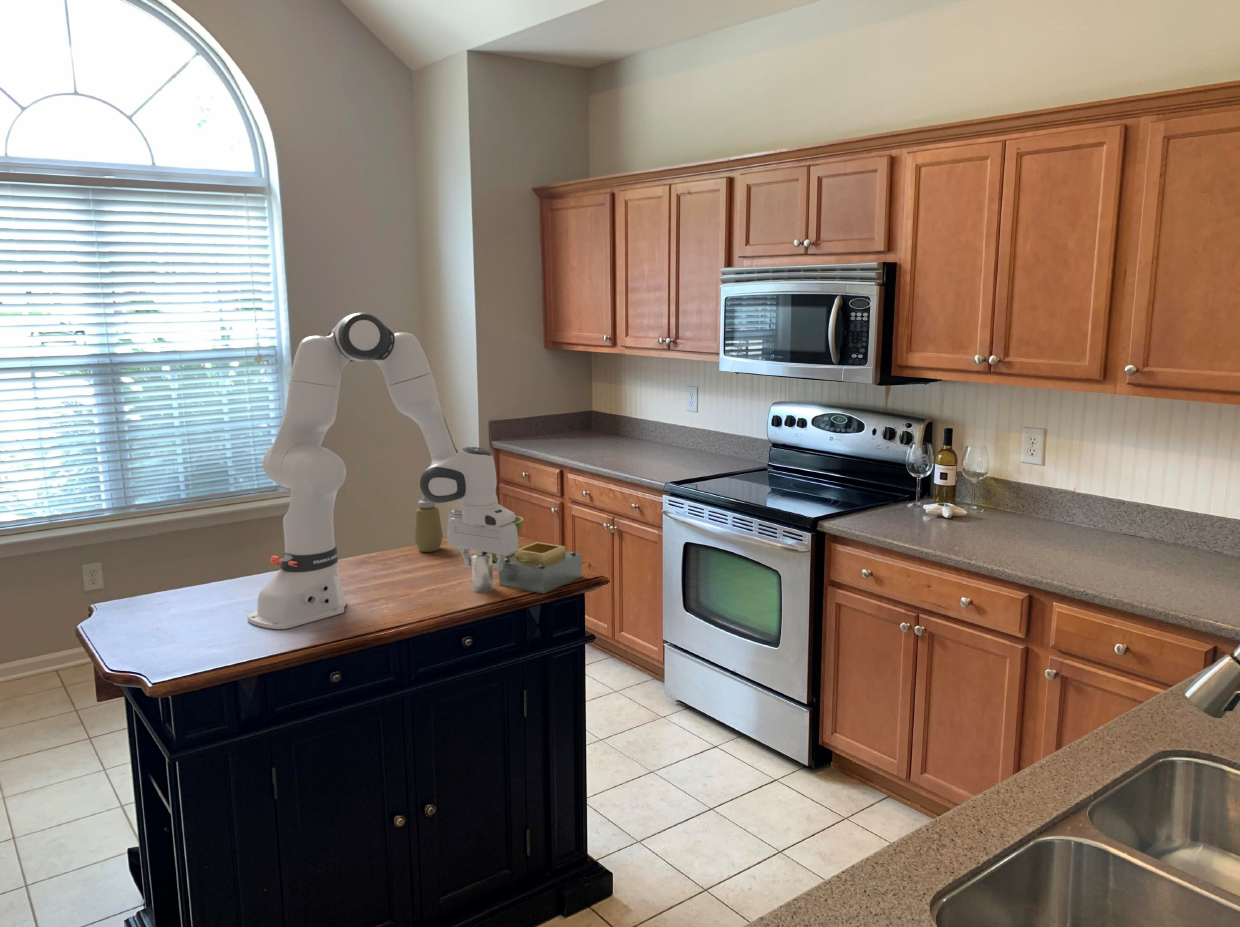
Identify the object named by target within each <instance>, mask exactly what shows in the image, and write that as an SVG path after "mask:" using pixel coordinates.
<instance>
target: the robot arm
mask: <svg viewBox="0 0 1240 927" xmlns="http://www.w3.org/2000/svg"><path fill="white" fill-rule="evenodd" d="M293 358H294V359H293V362H292V367H291V372H290V377H289V383H288V390H287V391H288V392H287V398H286V405H285V410H284V416H283V419H282V422H281V424H280V427H279V429H278V432H277V435H276V437H275V439H274V441H273V443H272V445H271V446H270V447H269V448H267V450H266V452H264V453H265V454H264V455H263V460H262V467H263V471H264V473H265V475H266V476H267V477H268V478H269V479H270V480H271V481H273V482H274V483H275V484H277V485H278V486H280V487H282V488H287V489H289V490H290V499H289V506H288V510H287V512H286V513H285V514H284V516H283V519H282V524H283V525H282V526H283V538H284V552H283V554H282V556H278V555H272V556H271V558H269V559H270V564H272V565H276V566H279V568H280V569H279V570H278V571H277V572H276V574H275V575H274V576H273V577H272V578H271V579H270V580H269V581H268V582H267V584H265V586H264V587H263V588H261V590H260V591H259V593H258V596H257V604H256V605H257V608H256V609H257V610H255V611H253V612H250V613H248V615H247V621H248V623H250V624H251V625H254V626H258V627H261V628H266V629H274V630H286V629H290V628H295V627H298V626H300V625H301V626H302V625H306V624H308V623H312V622H315V621H319V620H322V619H326V618H329V617H334V616H337V615H340V614H344V612H345V607H346V605H347V599H346V598H345V594H344V592H343V589H342V585H341V581H340V577H339V576H340V575H339V569H338V562H339V554H338V546H337V545H336V544H335V543H336V542H335V530H334V529H335V526H334V510H335V502H336V497H337V494H338V491H339V490H340V489H341V487H342V486H343V484H344V483H345V480H346V477H347V467H346V464H345V462H344V460H343V458H341V457H340V456H339V455H338V454H337V453H335V452H334V451H332V450H330V449H329V448H326V447H324V446H322V442H323V441H324V438H325V436H326V433H327V432H328V430H329V429H330V427H331V426H333V424H334V423H335V420H336V417H337V413H338V412H337V411H338V406H339V405H338V404H339V395H340V390H341V389H340V387H341V380H342V373H343V370H344V368H345V366H346V365H347V363H349V362H350V363H351V362H365V361H373V362H374V363H376V364H377V365H378V367H379V368H380V370H381V372H382V374H383V377H384V381H385V384H386V387H387V390H388V393H389V395H390V396H389V397H390V398H391V401H392V403H393V404H394V406H395V408H396V410H397V411H398V412H399V413H400V414H402V415H404V416H406V417H408V418H409V419H411V420H413V421H414V422H415V423H416V424H417V425H418V426H419V428H420V430H421V433H422V435H423V438H424V441H425V443H426V446H427V448H428V451H429V454H430V457H431V463H430V466H428V467H427V468H426V470H424V472H423V473H422V474H421V476H420V479H419V488H420V491H421V494H422V496H423V495H424V496H425V497H426V498H427V499H428V500H430V501H432V502H435V504H442V503H443V504H444V503H449V502H454V501H457V500H460V503H461V510H458V509H453V510H452V511H450V512H449V514H448V515H447V516H448V518H447V519H448V522H447V535H446V538H447V543H448V545H449V546H450V547H452V548H458V549H459V552H460V554H461V556H462V558H463V559H464V562H463V563H464V565H465V566H468V567H472V560H471V554H470V552H469V551H470V550H471V551H476V552H488V553H494V554H496V558H498V560H497V562H494V563H493V570H494V571H497V572H499V571H501V570H503V562H504V560H505V558H506V556H509V555H512V554H514V553H516V552H517V550H518V549H519V548H520V547H519V544H520V543H519V539H518V533H517V528H516V526H515V524H514V523H513V521H515V516H516V514H515V512H513V511H511V510H510V509H508V508H506V507H505V506H503V505H501V504H499V500H498V496H497V494H496V491H497V490H496V488H497V471H496V464H495V460H494V456H493V455H492V453H491V451H489V450H487V449H486V448H485V449H484V448H482V447H475V446H469V447H467V446H466V447H463V448H461V449H460V450H459V451H458V449H457V448H456V446H455V443H454V440H453V438H452V435H451V433H450V430H449V426H448V424H447V422H446V418H445V416H444V414H443V411H442V406H441V402H440V399H439V394H438V391H437V386H436V385H437V384H436V382H435V378H434V375H433V372H432V369H431V366H430V363H429V360H428V358H427V355H426V353H425V351H424V349H423V348H422V346H421V343H420V341H419V340H418V338H417V337H416V336H415V335H413V334H412V333H409V332H403V331H402V332H400V331H399V332H396V333H395V332H393V331H392V330H391V329H389V327H387V326H386V324H384V323H383V321H381V319H379V318H378V317H376V316H375V315H373V314H371V313H368V312H362V311H361V312H360V311H359V312H355V313H354V312H353V313H350V314H347V315H345V316H344V317H343V318H341V319H340V320H339V321H338V322H336V324H335V325H334V327H333V328H332V329H331V330H330V332H329V333H328V335H327V336H325V335H324V336H323V335H310V336H307V337H305V338H303V339H302V340H301V341H300V343H299V344H298V346H297V349H296V353H295V356H294V357H293Z"/></svg>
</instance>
